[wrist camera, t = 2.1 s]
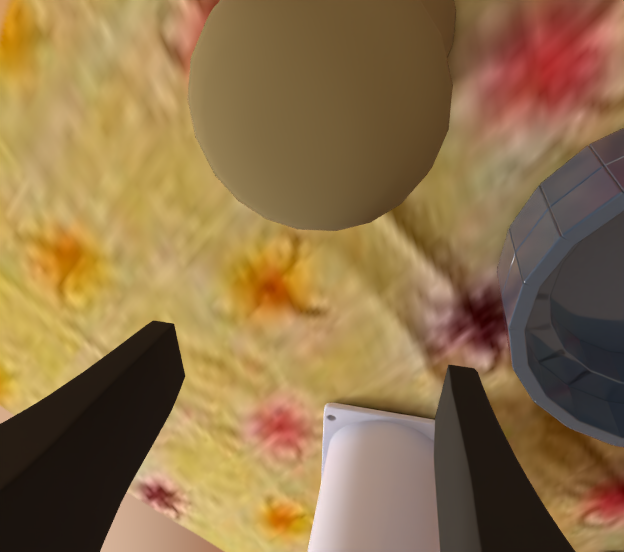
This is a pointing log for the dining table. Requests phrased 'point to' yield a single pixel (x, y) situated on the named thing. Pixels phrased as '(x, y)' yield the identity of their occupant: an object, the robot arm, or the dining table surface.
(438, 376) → the dining table surface
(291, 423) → the dining table surface
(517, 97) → the dining table surface
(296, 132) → the cork
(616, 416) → the bowl
